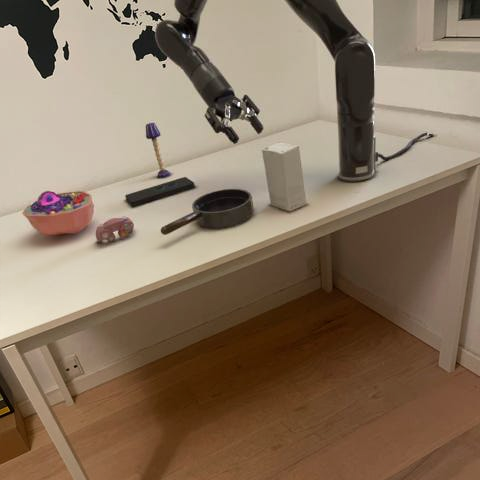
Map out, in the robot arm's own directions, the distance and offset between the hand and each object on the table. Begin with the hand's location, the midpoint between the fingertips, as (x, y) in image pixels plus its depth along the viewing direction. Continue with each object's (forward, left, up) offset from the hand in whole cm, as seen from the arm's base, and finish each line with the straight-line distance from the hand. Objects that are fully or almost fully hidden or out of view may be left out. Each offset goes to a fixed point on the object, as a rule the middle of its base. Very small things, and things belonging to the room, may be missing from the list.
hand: (249, 136), depth 121 cm
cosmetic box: (0, +11, -17) cm, 20 cm away
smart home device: (+11, -31, -17) cm, 37 cm away
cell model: (+41, -33, -17) cm, 55 cm away
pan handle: (+26, +1, -13) cm, 29 cm away
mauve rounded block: (+36, -15, -17) cm, 42 cm away
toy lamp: (0, -45, -17) cm, 48 cm away
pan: (+13, +1, -16) cm, 21 cm away
